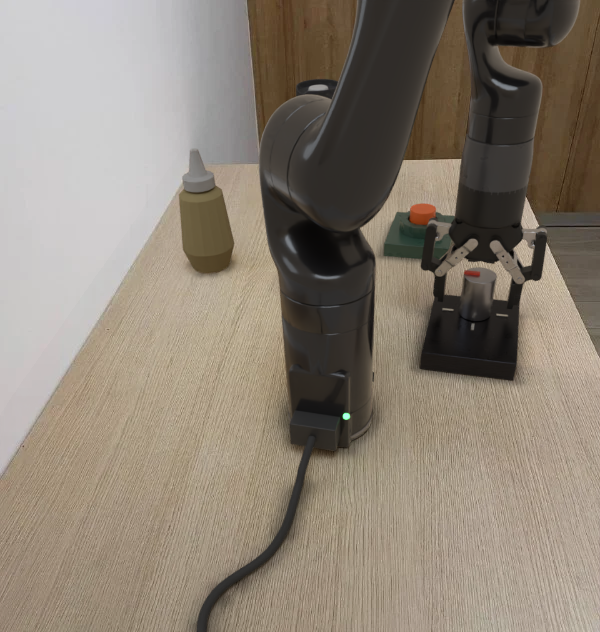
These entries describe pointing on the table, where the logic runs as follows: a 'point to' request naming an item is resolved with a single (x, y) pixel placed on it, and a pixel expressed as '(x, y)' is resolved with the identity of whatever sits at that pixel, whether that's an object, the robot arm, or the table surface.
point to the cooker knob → (477, 293)
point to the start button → (422, 213)
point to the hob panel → (471, 341)
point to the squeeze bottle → (204, 219)
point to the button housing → (413, 237)
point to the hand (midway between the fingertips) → (475, 302)
